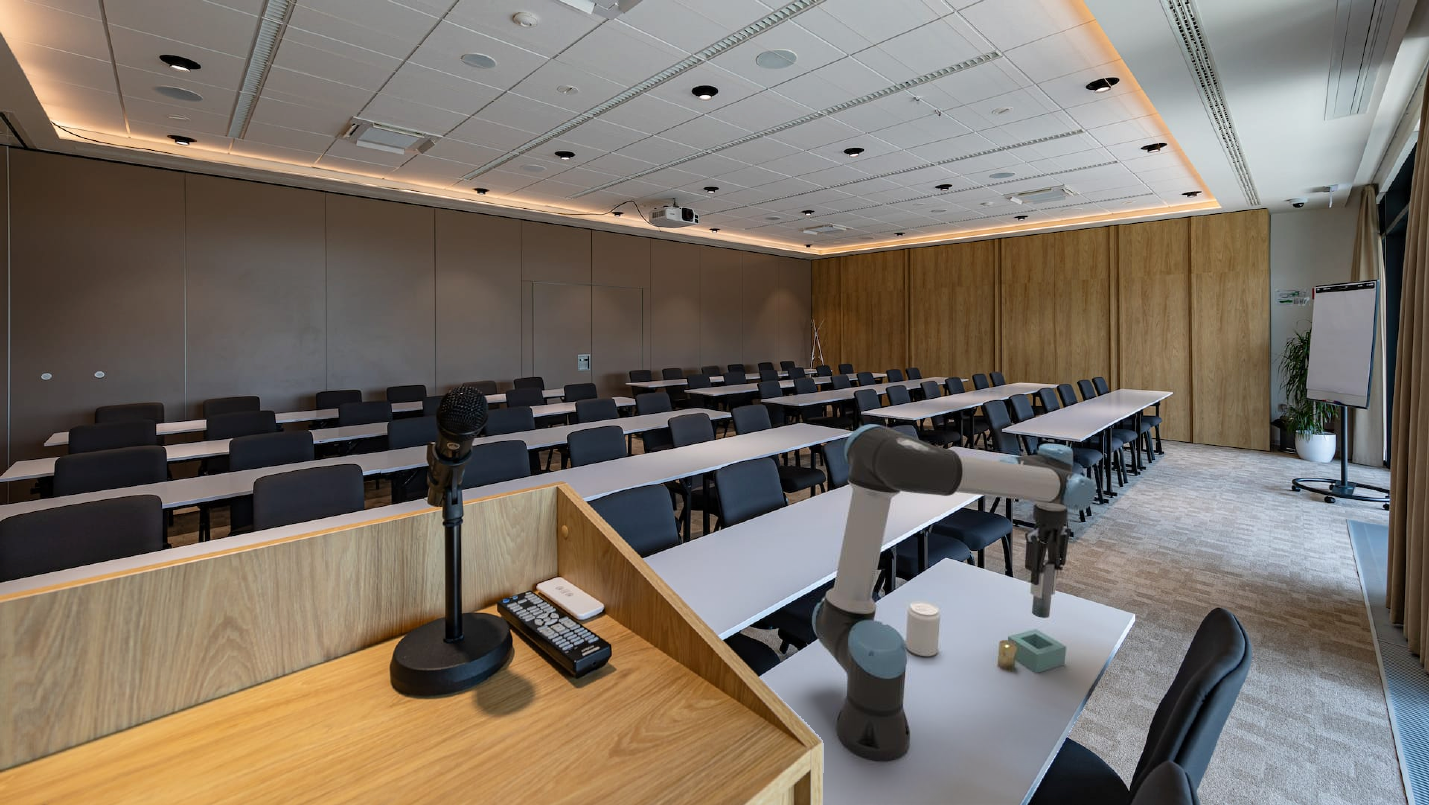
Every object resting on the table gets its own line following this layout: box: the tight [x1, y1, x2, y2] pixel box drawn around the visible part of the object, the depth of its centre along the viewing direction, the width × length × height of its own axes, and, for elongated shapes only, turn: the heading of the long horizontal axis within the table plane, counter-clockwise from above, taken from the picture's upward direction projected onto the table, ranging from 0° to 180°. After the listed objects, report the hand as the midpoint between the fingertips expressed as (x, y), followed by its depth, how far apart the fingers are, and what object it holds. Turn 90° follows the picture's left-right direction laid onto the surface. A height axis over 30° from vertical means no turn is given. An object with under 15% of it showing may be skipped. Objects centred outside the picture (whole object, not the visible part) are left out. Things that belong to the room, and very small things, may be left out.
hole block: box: [1007, 628, 1067, 674], centre depth 157 cm, size 10×9×5 cm
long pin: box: [1031, 559, 1054, 619], centre depth 155 cm, size 4×4×14 cm
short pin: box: [997, 639, 1017, 672], centre depth 154 cm, size 4×4×6 cm
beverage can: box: [905, 600, 941, 657], centre depth 161 cm, size 8×8×12 cm
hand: (1042, 593), depth 155 cm, fingers closed on long pin, 4 cm apart
